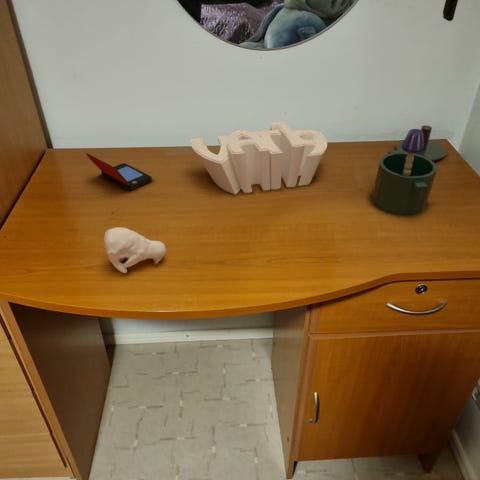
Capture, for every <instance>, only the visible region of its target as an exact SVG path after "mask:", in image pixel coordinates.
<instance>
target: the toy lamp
mask: <svg viewBox="0 0 480 480" xmlns="http://www.w3.org/2000/svg"><path fill="white" fill-rule="evenodd" d="M403 140H404V142H403V144H402V149H403V150H404V151H406V152H407V155H408V156H407V157H406V163H405V165H404V170H403V175H406V176H409V175H410V174H411V168H412V162H413V161H414V155H415V153H419V152H421V151H423V148H424V144H423V131H421V129H419V128H411V129H410V130H409V131H408V133H407V134H406V136H405V138H404V139H403Z"/></svg>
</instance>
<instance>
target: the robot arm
mask: <svg viewBox="0 0 480 480" xmlns="http://www.w3.org/2000/svg"><path fill="white" fill-rule="evenodd" d="M458 3H459V0H445V2H444V5H443V10H442V18H443V19H444V20H446V21H447V22H452V21H453V20H454V17H455V13H456V10H457V6H458Z"/></svg>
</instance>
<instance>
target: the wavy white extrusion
mask: <svg viewBox="0 0 480 480" xmlns="http://www.w3.org/2000/svg"><path fill="white" fill-rule="evenodd" d="M216 139H217V141H218V143H219V146H220V149H219V152H218V154H216V153H214V152H211V150H209V148H208V145H207V144H206V142H205V140H204V139H203V137H197V138H196V137H195V138H191V139H190V146H191V148H192V150H193V151H194V152H195V154H196V156H197V157H198V160H200V162H201V163H202V165H203V167H204V168H205V169H206V171H207V173H208V174H209V176H210V177H211V179H212V180H213V182H214V183H215V184H216V185H217V186H218V187H219V188H221V189H222V190H224V191H225V192H228V193H229V194H232V195H237V194H238V193H239V192H240V191H242V192H243V193H244V194H250V193H253V188H252V185H259V186H260V188H261V190H262V191H270V190H280V189H281V186H282V180H283V182H284V184H285V186H286V188H294V187H296V186H298V187H300V186H307V185H310V183H311V181H312V180H313V178H314V176H315V174H316V171H317V169H318V168H319V166H320V163H321V161H322V159H323V156H324V154H325V152H326V150H327V148H328V140H327V138H326V136H325V135H324V134H323V133H321V132H319V131H317V130H314V129H297V130H292V129H291V128H290V127H289V126H288V124H286V123H285V122H284V121H277V122H273V123H271V124H270V125H269V130H259V131H249V130H244V129H240V128H239V129H237V130H234V131H233V132H232V133H231V134H229V135H224V134H223V135H218V136H216ZM298 178H299V181H298Z"/></svg>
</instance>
